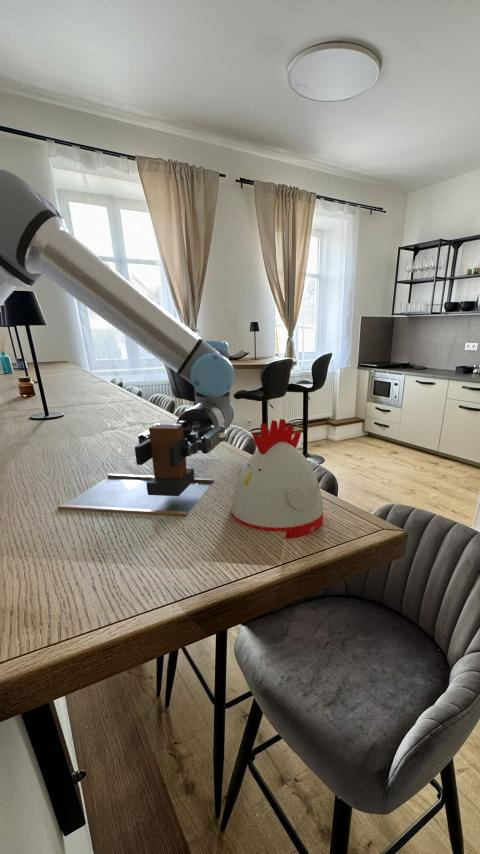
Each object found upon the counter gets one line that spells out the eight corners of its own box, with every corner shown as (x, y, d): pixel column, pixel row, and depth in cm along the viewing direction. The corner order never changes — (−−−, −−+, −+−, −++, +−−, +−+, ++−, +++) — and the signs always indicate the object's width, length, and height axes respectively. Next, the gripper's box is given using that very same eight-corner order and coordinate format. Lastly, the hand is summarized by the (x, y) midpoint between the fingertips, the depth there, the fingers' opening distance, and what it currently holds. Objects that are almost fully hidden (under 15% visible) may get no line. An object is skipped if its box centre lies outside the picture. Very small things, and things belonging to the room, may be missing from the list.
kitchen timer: (214, 514, 64) (209, 417, 58) (282, 495, 72) (283, 408, 66) (270, 548, 54) (271, 435, 48) (341, 521, 62) (349, 422, 57)
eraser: (166, 478, 71) (160, 421, 68) (194, 479, 71) (189, 421, 67) (147, 495, 64) (139, 431, 60) (178, 496, 63) (172, 432, 60)
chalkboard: (58, 516, 62) (56, 506, 62) (110, 481, 77) (109, 473, 77) (186, 523, 60) (186, 513, 60) (214, 487, 75) (214, 478, 75)
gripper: (244, 445, 82) (214, 483, 61) (160, 441, 84) (101, 478, 62) (243, 407, 79) (212, 433, 58) (156, 404, 81) (94, 429, 59)
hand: (155, 456), depth 60 cm, fingers closed on eraser, 4 cm apart
